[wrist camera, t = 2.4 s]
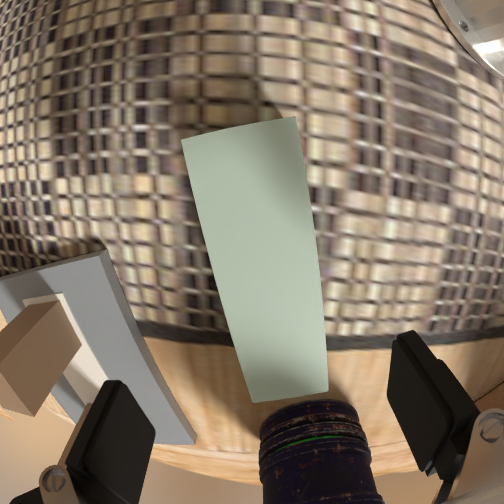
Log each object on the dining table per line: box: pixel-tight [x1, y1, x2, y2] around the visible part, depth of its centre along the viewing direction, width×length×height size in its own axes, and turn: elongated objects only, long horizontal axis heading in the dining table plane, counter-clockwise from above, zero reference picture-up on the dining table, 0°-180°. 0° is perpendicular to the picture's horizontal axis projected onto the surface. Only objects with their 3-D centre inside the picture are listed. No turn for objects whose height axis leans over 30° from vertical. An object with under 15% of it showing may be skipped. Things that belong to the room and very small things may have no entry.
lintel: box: [181, 116, 329, 403], centre depth 16 cm, size 16×5×4 cm, turn 11°
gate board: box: [0, 249, 197, 469], centre depth 17 cm, size 20×14×9 cm
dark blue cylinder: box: [259, 399, 385, 504], centre depth 17 cm, size 10×10×15 cm
